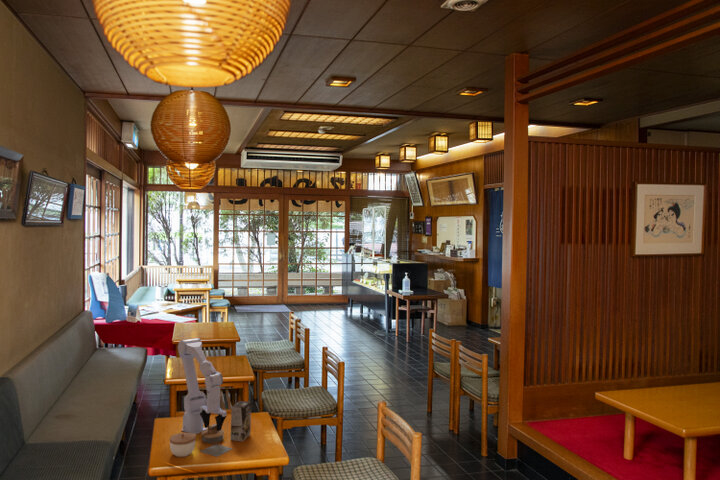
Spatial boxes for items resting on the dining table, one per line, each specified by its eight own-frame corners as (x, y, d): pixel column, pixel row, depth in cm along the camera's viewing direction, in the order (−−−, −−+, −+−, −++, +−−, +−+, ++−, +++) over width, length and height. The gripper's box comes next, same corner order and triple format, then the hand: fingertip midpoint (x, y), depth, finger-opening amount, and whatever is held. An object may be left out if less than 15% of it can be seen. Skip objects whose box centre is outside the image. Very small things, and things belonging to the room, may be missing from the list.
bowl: (197, 441, 253) (197, 435, 253) (212, 434, 261) (212, 428, 261) (212, 445, 248) (212, 439, 248) (227, 438, 257) (227, 432, 257)
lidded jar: (195, 458, 235) (195, 437, 234) (168, 461, 232) (169, 439, 231) (195, 448, 245) (195, 427, 245) (169, 451, 242) (170, 429, 242)
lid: (197, 434, 253) (197, 426, 253) (212, 428, 262) (212, 420, 261) (213, 439, 248) (213, 431, 248) (228, 432, 257) (228, 424, 257)
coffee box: (243, 442, 253) (244, 407, 253) (230, 440, 255) (230, 406, 254) (251, 435, 262) (251, 401, 262) (238, 433, 263) (239, 400, 263)
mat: (199, 452, 241) (199, 451, 241) (216, 444, 250) (216, 443, 250) (217, 457, 236) (217, 456, 236) (233, 449, 245) (233, 448, 245)
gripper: (195, 399, 254) (195, 428, 255) (219, 405, 247) (218, 434, 248) (206, 395, 260) (206, 423, 261) (230, 400, 253) (229, 429, 254)
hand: (212, 428), depth 255 cm, fingers open, 7 cm apart
